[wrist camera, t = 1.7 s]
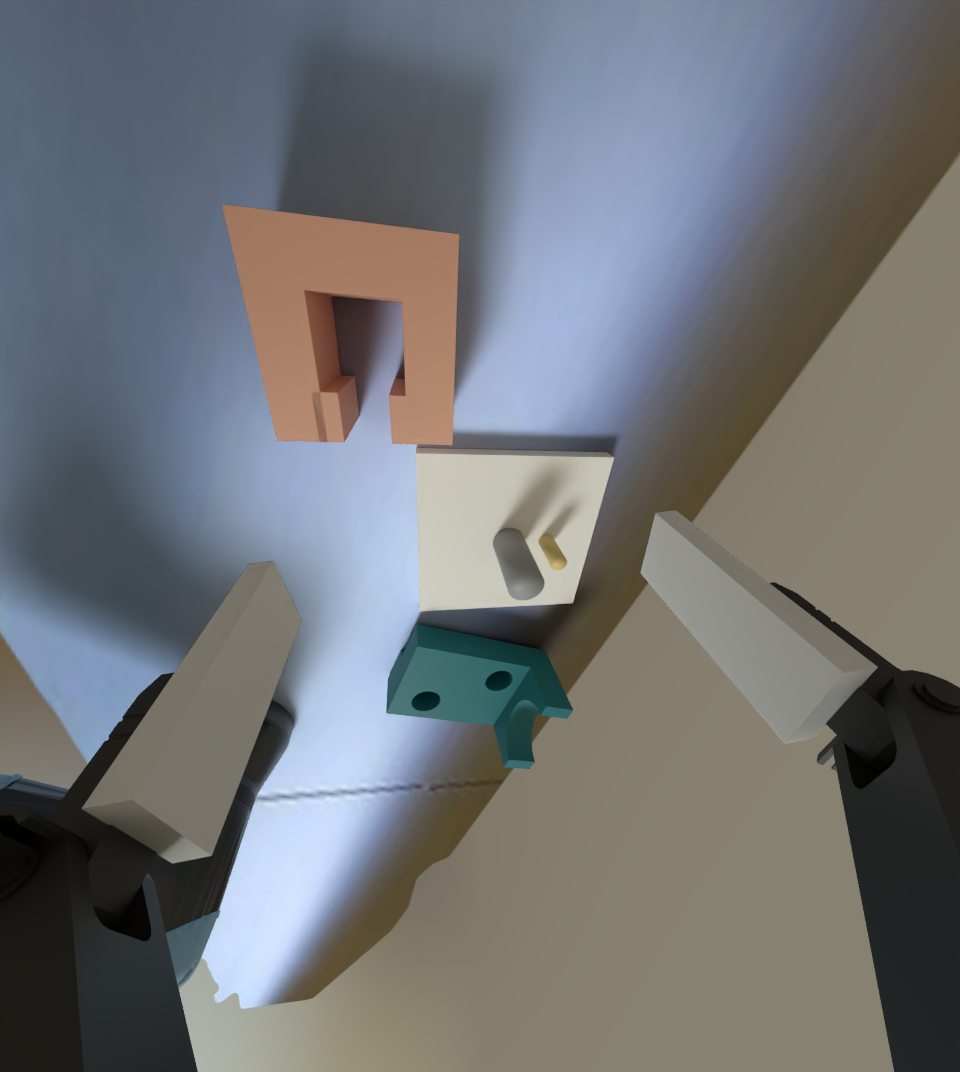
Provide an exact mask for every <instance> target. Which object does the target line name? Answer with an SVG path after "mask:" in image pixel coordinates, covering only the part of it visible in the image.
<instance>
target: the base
mask: <svg viewBox="0 0 960 1072" xmlns="http://www.w3.org/2000/svg"><path fill="white" fill-rule="evenodd" d="M613 460H614V457H613V456H611V455H610V454H609V453H607V452H576V451H534V450H491V449H449V448H416V469H417V511H418V552H419V594H420V611H437V610H456V609H474V608H493V607H512V606H530V605H549V604H568V603H573V601H574V597H575V594H576V590H577V587H578V583H579V580H580V576H581V573H582V569H583V566H584V562H585V559H586V555H587V552H588V548H589V545H590V541H591V538H592V534H593V531H594V527H595V523H596V520H597V516H598V513H599V509H600V506H601V502H602V499H603V495H604V492H605V488H606V485H607V481H608V478H609V474H610V471H611V467H612V464H613Z"/></svg>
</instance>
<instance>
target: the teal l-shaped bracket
mask: <svg viewBox="0 0 960 1072" xmlns="http://www.w3.org/2000/svg"><path fill="white" fill-rule="evenodd" d="M538 711H539V713H540V715H543V716H550V717H558V718H568V717H569V715H570V714H571V712H572V711H573V709H572V706H571V704H570V702H569V700H568V698H567V696H566V694H565V692H564V690H563V687H562V685H561V683H560V681H559V679H558V677H557V675H556V673H555V671H554V669H553V666H552V664H551V662H550V660H549V658H548V656H547V654H546V652H545V650H540V649H535V648H531V647H526V646H521V645H516V644H511V643H506V642H502V641H497V640H492V639H487V638H482V637H478V636H473V635H468V634H463V633H458V632H453V631H449V630H444V629H439V628H434V627H429V626H424V625H420V624H416V626H415V628H414V630H413V633H412V635H411V637H410V639H409V642H408V644H407V646H406V648H405V650H402V649H401V651H400V654H399V656H398V658H397V660H396V662H395V664H394V667H393V669H392V671H391V673H390V676H389V678H388V691H387V711H386V713H389V714H398V715H407V716H416V717H424V718H433V719H442V720H451V721H460V722H469V723H478V724H487V725H494V729H495V733H496V737H497V741H498V745H499V750H500V754H501V758H502V762H503V766H504V767H507V768H522V769H530V767H531V766H532V765H533V763H534V762H535V761H534V757H533V752H532V739H531V738H532V728H533V723H534V720H535V717H536V715H537V713H538Z"/></svg>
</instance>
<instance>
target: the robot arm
mask: <svg viewBox="0 0 960 1072" xmlns="http://www.w3.org/2000/svg"><path fill="white" fill-rule="evenodd" d="M641 574H642V575H643V577H644V578H645V579H646V580H647V581H648V582H649V584H650V585H651V586H652V587H653V588H654V590H655V591H656V592H657V593H658V594H659V595H660V597H661V598H662V599H663V600H664V601H665V603H666V604H667V605H668V606H669V607H670V608H671V610H672V611H673V612H674V613H675V614H676V615H677V617H678V618H679V619H680V620H681V621H682V623H683V624H684V625H685V626H686V627H687V629H688V630H689V631H690V632H691V633H692V634H693V636H694V637H695V638H696V639H697V640H698V642H699V643H700V644H701V645H702V646H703V647H704V649H705V650H706V651H707V652H708V653H709V654H710V656H711V657H712V658H713V659H714V660H715V662H716V663H717V664H718V665H719V666H720V668H721V669H722V670H723V671H724V672H725V673H726V675H727V676H728V677H729V678H730V679H731V681H732V682H733V683H734V684H735V685H736V686H737V688H738V689H739V690H740V691H741V692H742V694H743V695H744V696H745V697H746V698H747V699H748V701H749V702H750V703H751V704H752V705H753V707H754V708H755V709H756V710H757V711H758V712H759V714H760V715H761V716H762V717H763V718H764V720H765V721H766V722H767V723H768V724H769V725H770V727H771V728H772V729H773V730H774V731H775V733H776V734H777V735H778V736H779V737H780V738H781V740H782V741H783V742H784V743H785V744H787V743H792V742H797V741H803V740H807V739H813V738H814V737H815V736H816V735H817V734H818V733H819V732H820V731H821V730H822V728H823V727H824V726H825V725H826V724H827V725H828V726H829V727H830V728H831V729H832V730H833V731H834V732H835V733H836V734H837V736H836V737H835V738H834V739H833V740H832V741H831V742H830V743H829V744H828V745H827V746H826V747H825V748H824V749H823V750H822V751H821V752H820V753H819V754H818V758H817V763H819V764H822V765H823V764H824V763H825V762H826V761H827V760H828V759H829V758H830V757H831V756H832V755H834V758H835V764H834V765H833V766H832V769H834V770H836V771H837V773H838V779H839V784H840V789H841V794H842V800H843V805H844V810H845V816H846V820H847V825H848V831H849V836H850V842H851V847H852V852H853V858H854V863H855V868H856V873H857V879H858V884H859V889H860V894H861V900H862V905H863V910H864V915H865V921H866V925H867V931H868V936H869V942H870V947H871V952H872V957H873V963H874V968H875V973H876V978H877V984H878V988H879V994H880V999H881V1004H882V1009H883V1015H884V1020H885V1025H886V1031H887V1036H888V1041H889V1046H890V1051H891V1057H892V1062H893V1067H894V1072H960V688H959V687H957V686H955V685H954V684H952V683H950V682H948V681H946V680H944V679H941V678H939V677H936V676H933V675H930V674H928V673H923V672H918V671H914V670H908V671H901V670H900V669H898V668H896V667H895V666H894V665H892V664H891V663H889V662H888V661H887V660H886V659H884V658H883V657H882V656H880V655H879V654H877V653H876V652H875V651H873V650H872V649H871V648H870V647H868V646H867V645H865V644H864V643H863V642H861V641H860V640H859V639H857V638H856V637H855V636H853V635H852V634H851V633H849V632H848V631H847V630H845V629H844V628H843V627H841V626H840V625H838V624H837V623H836V622H832V621H831V620H830V618H829V617H828V616H826V615H825V614H824V613H823V612H821V611H820V610H816V609H815V607H814V606H813V605H812V604H810V603H809V602H808V601H806V600H805V599H804V598H802V597H801V596H800V595H798V594H797V593H795V592H793V591H791V590H789V589H787V588H785V587H783V586H781V585H778V584H777V583H775V582H774V583H769V582H767V581H766V580H765V579H763V578H762V577H761V576H759V575H758V574H757V573H756V572H754V571H753V570H752V569H750V568H749V567H748V566H747V565H745V564H744V563H743V562H741V561H740V560H739V559H738V558H736V557H735V556H734V555H732V554H731V553H730V552H729V551H727V550H726V549H725V548H723V547H722V546H721V545H720V544H718V543H717V542H715V541H714V540H713V539H712V538H710V537H709V536H708V535H707V534H705V533H704V532H703V531H701V530H700V529H699V528H698V527H696V526H695V525H694V524H692V523H691V522H690V521H689V520H687V519H686V518H685V517H683V516H682V515H681V514H679V513H678V512H677V511H669V512H661V513H656V514H655V518H654V522H653V526H652V530H651V534H650V538H649V542H648V546H647V550H646V554H645V558H644V561H643V565H642V569H641ZM301 622H302V620H301V617H300V615H299V613H298V611H297V609H296V607H295V605H294V603H293V601H292V599H291V596H290V594H289V592H288V590H287V588H286V586H285V584H284V582H283V580H282V577H281V575H280V573H279V571H278V569H277V567H276V565H275V563H274V561H268V562H260V563H252V564H248V566H247V567H246V569H245V570H244V572H243V573H242V575H241V576H240V577H239V579H238V580H237V582H236V583H235V585H234V586H233V588H232V589H231V591H230V592H229V594H228V595H227V597H226V598H225V599H224V601H223V602H222V604H221V605H220V607H219V608H218V610H217V611H216V613H215V614H214V616H213V617H212V618H211V620H210V621H209V623H208V624H207V626H206V627H205V629H204V630H203V632H202V633H201V635H200V636H199V637H198V639H197V640H196V642H195V643H194V645H193V646H192V648H191V649H190V651H189V652H188V654H187V655H186V657H185V658H184V659H183V661H182V662H181V664H180V665H179V667H178V668H177V670H176V671H175V673H169V674H163V675H161V676H160V677H159V678H157V679H156V680H155V681H154V682H153V683H152V684H151V685H150V686H148V687H147V688H146V689H145V690H144V691H143V692H142V693H140V694H139V696H138V697H137V698H136V700H135V701H134V702H133V704H132V705H131V706H130V708H129V709H128V710H127V712H126V713H125V715H124V716H123V720H122V721H121V722H119V723H118V724H117V725H116V727H115V728H114V729H113V731H112V732H111V734H110V735H109V739H108V741H105V742H104V743H103V744H102V746H101V747H100V748H99V750H98V751H97V753H96V754H95V755H94V757H93V758H92V759H91V761H90V762H89V763H88V765H87V766H86V767H85V769H84V770H83V772H82V773H81V774H80V776H79V777H78V779H77V780H76V781H75V783H74V784H73V785H72V787H71V788H70V789H65V788H61V787H57V786H52V785H48V784H44V783H40V782H36V781H32V780H28V779H24V778H22V777H23V776H22V775H19V774H15V775H12V776H9V775H2V774H0V1072H197V1067H196V1063H195V1058H194V1054H193V1050H192V1046H191V1041H190V1037H189V1032H188V1028H187V1024H186V1019H185V1015H184V1010H183V1006H182V1002H181V997H180V993H179V988H181V987H182V986H183V985H184V984H185V983H186V982H187V981H188V980H189V978H190V977H191V976H192V974H193V973H194V971H195V969H196V968H197V966H198V964H199V961H200V959H201V957H202V954H203V951H204V949H205V946H206V944H207V941H208V939H209V936H210V934H211V931H212V929H213V926H214V924H215V921H216V919H217V918H218V917H219V914H220V911H219V908H220V905H221V902H222V899H223V896H224V893H225V890H226V887H227V884H228V881H229V878H230V875H231V872H232V869H233V866H234V863H235V860H236V857H237V854H238V850H239V847H240V844H241V841H242V838H243V835H244V832H245V829H246V826H247V823H248V820H249V817H250V813H251V810H252V808H253V805H254V802H255V799H256V796H257V794H258V792H259V790H260V789H261V787H262V786H263V784H264V783H265V781H266V780H267V778H268V777H269V775H270V774H271V772H272V771H273V769H274V768H275V766H276V764H277V763H278V761H279V760H280V758H281V757H282V755H283V754H284V752H285V750H286V748H287V746H288V744H289V740H290V737H291V734H292V730H293V722H292V719H291V717H290V715H289V714H288V712H287V711H286V710H285V709H284V708H282V707H281V706H280V705H278V704H277V703H275V702H273V701H271V700H272V697H273V695H274V692H275V690H276V687H277V684H278V682H279V679H280V677H281V674H282V671H283V669H284V666H285V664H286V661H287V658H288V656H289V653H290V651H291V648H292V645H293V643H294V640H295V638H296V635H297V632H298V630H299V627H300V625H301Z"/></svg>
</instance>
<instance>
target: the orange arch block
mask: <svg viewBox="0 0 960 1072" xmlns="http://www.w3.org/2000/svg"><path fill="white" fill-rule="evenodd" d="M222 207H223V212H224V216H225V220H226V224H227V229H228V233H229V237H230V241H231V246H232V250H233V254H234V259H235V263H236V267H237V271H238V276H239V280H240V284H241V288H242V293H243V297H244V301H245V305H246V310H247V314H248V318H249V322H250V327H251V331H252V335H253V340H254V344H255V348H256V352H257V357H258V361H259V365H260V369H261V374H262V378H263V382H264V386H265V391H266V395H267V399H268V404H269V408H270V412H271V416H272V421H273V425H274V429H275V433H276V438H277V441H309V442H345V440H346V438H347V437H348V435H349V433H350V431H351V430H352V428H353V426H354V425H355V423H356V421H357V419H358V418H359V409H358V399H357V390H356V381H355V376H344V375H341V369H340V361H339V353H338V345H337V337H336V328H335V320H334V312H333V304H332V296H335V297H346V298H357V299H367V300H378V301H389V302H400V303H402V311H403V338H404V365H405V379H398V378H395V380H394V383H393V386H392V388H391V391H390V394H389V403H390V419H391V436H392V444H428V445H452V444H453V412H454V381H455V349H456V318H457V287H458V255H459V234H453V233H445V232H437V231H430V230H422V229H414V228H406V227H398V226H390V225H382V224H374V223H366V222H359V221H351V220H343V219H335V218H327V217H319V216H311V215H303V214H295V213H288V212H280V211H272V210H264V209H256V208H248V207H240V206H232V205H224V204H222Z"/></svg>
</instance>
